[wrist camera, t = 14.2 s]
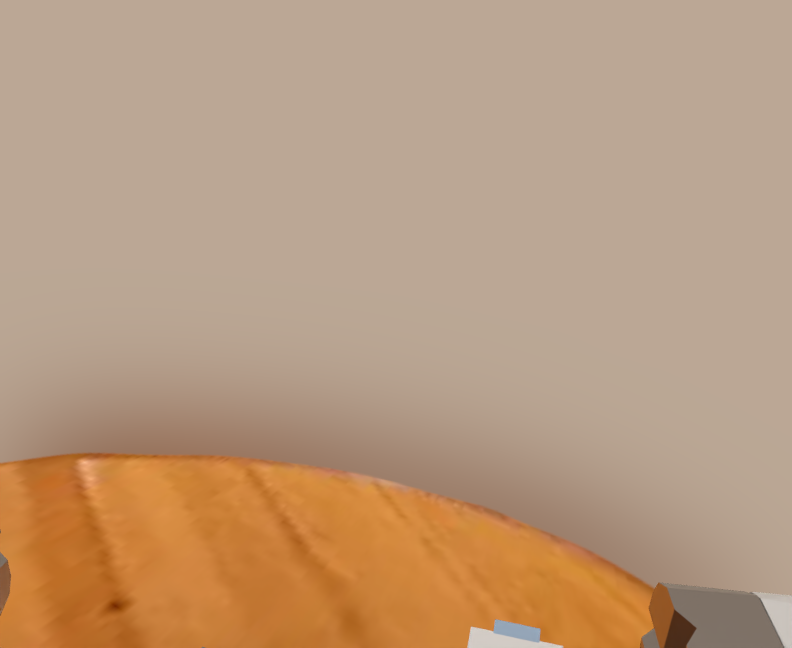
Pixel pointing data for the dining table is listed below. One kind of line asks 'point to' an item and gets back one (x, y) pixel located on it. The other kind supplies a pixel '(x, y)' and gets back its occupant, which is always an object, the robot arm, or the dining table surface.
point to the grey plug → (507, 637)
